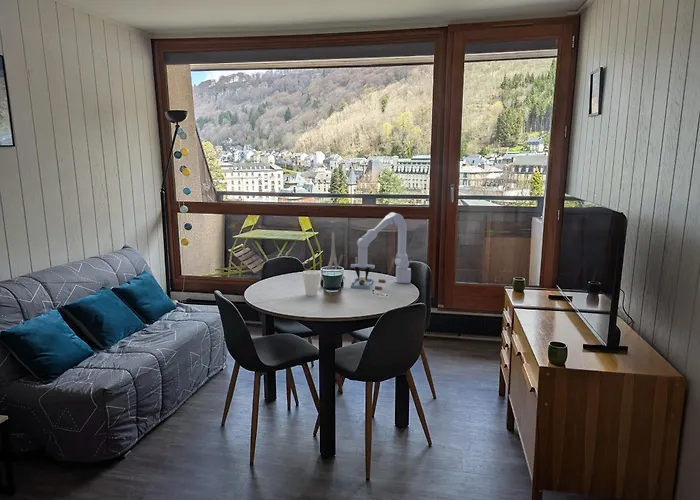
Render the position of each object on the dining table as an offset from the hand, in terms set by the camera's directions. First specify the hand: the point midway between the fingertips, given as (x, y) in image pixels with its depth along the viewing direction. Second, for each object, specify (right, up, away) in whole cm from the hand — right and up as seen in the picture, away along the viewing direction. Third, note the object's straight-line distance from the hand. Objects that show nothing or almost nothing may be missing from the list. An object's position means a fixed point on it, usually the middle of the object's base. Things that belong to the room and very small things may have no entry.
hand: (362, 279), depth 306 cm
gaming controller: (-18, -5, -6) cm, 20 cm away
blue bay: (0, -3, +1) cm, 3 cm away
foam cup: (-30, -7, -22) cm, 38 cm away
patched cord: (0, -2, 0) cm, 2 cm away
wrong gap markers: (+11, -4, -1) cm, 11 cm away
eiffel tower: (-19, 0, +21) cm, 28 cm away
